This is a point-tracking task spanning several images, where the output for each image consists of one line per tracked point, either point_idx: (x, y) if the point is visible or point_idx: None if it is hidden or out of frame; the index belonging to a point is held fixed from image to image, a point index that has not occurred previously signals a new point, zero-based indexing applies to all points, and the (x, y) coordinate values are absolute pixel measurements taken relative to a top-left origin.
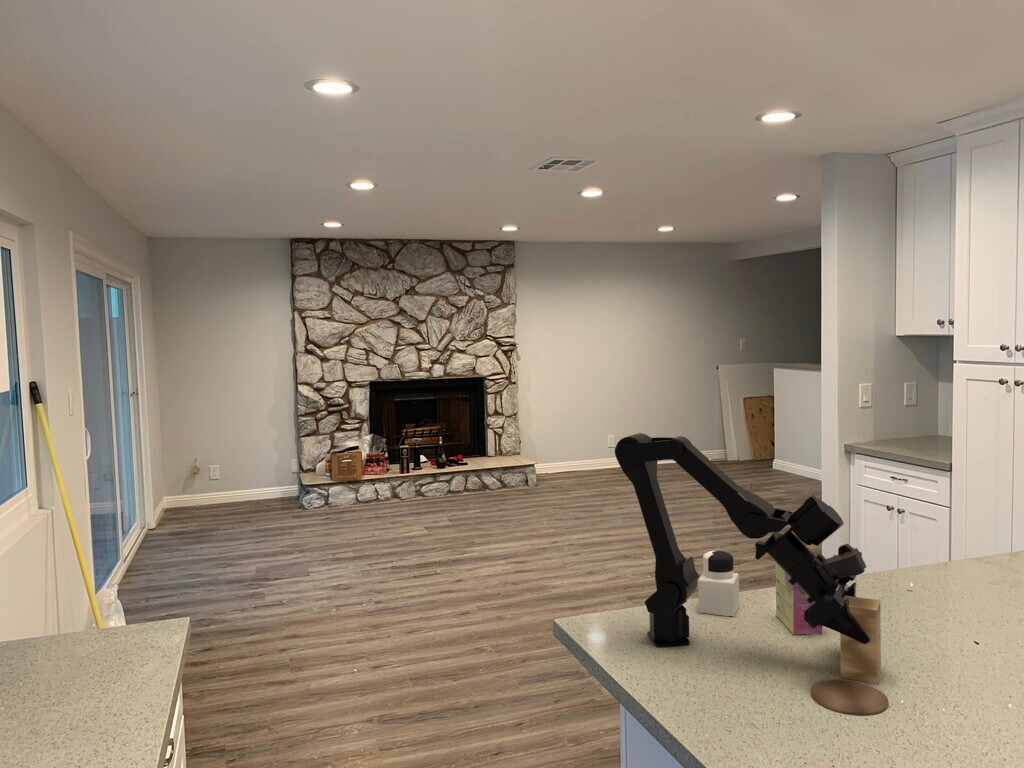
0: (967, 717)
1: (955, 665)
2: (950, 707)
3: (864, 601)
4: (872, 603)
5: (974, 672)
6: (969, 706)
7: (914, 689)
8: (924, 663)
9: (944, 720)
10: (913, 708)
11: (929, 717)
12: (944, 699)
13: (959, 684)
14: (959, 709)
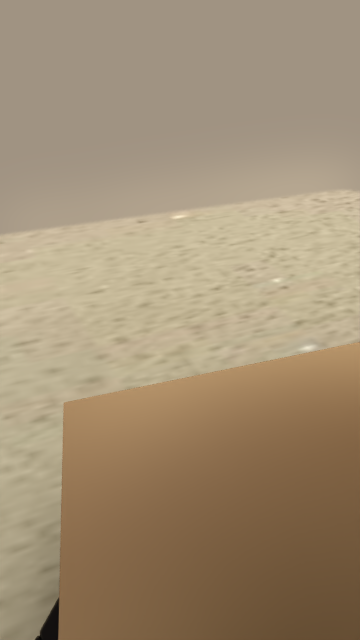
0: (277, 247)
1: (30, 310)
2: (258, 273)
3: (235, 591)
4: (246, 443)
5: (55, 277)
6: (229, 253)
7: (223, 343)
8: (45, 366)
9: (322, 268)
10: (322, 320)
11: (334, 288)
12: (230, 288)
13: (135, 284)
14: (255, 261)
